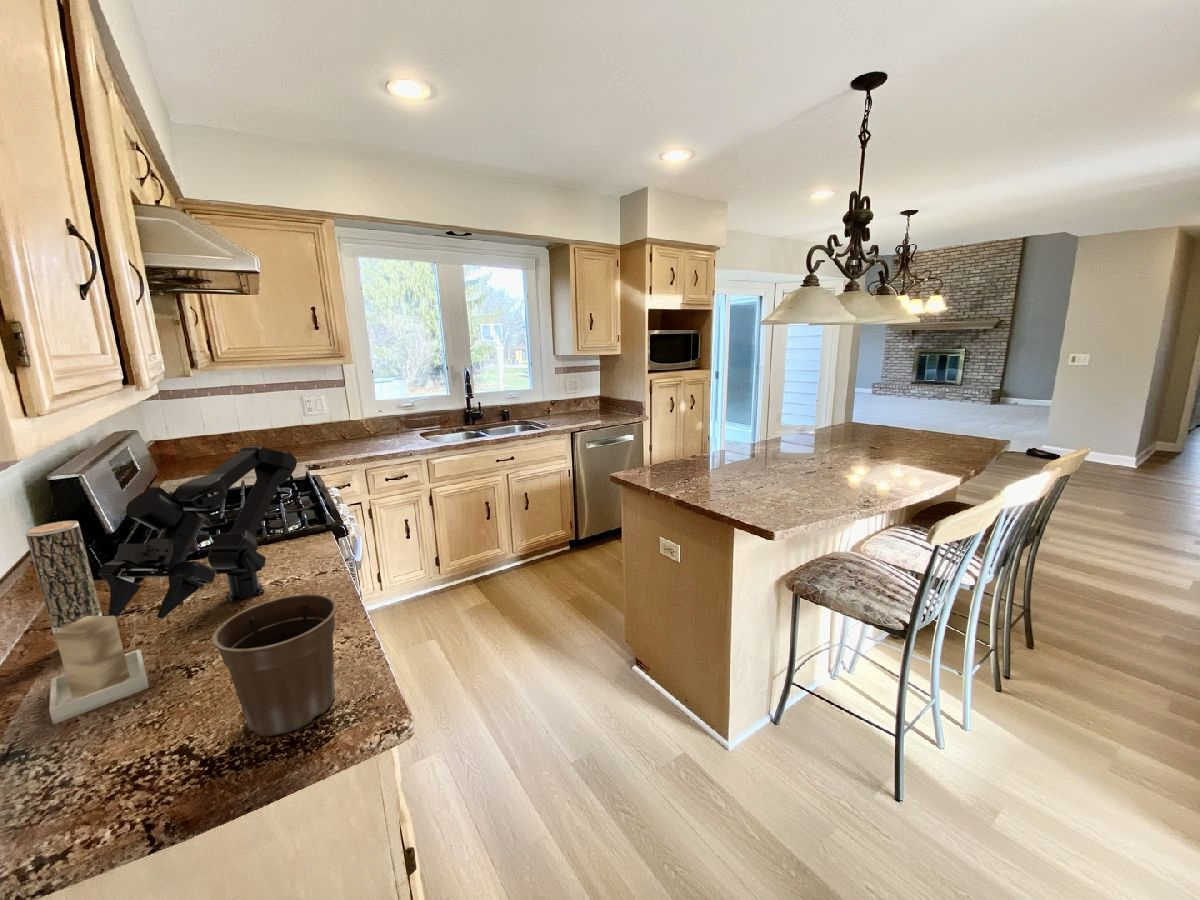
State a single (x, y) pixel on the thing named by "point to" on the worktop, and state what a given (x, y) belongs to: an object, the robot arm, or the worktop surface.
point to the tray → (71, 706)
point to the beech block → (92, 654)
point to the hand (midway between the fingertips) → (135, 618)
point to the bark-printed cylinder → (63, 573)
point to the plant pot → (281, 661)
